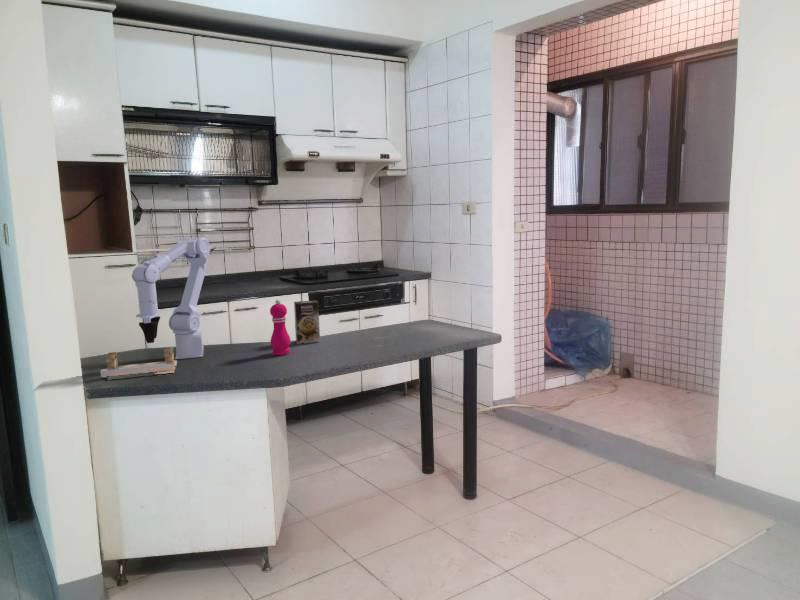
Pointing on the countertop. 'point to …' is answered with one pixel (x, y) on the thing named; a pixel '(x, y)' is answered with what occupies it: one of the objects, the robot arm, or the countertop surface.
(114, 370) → the steel rail
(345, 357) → the countertop surface
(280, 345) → the pepper mill
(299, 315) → the coffee box
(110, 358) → the wooden post frame
